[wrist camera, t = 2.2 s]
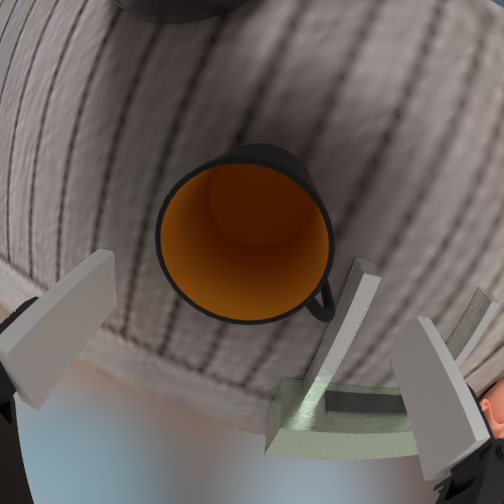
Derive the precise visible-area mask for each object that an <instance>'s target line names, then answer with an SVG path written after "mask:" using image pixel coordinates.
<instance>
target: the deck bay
mask: <svg viewBox="0 0 504 504" xmlns="http://www.w3.org/2000/svg"><path fill="white" fill-rule="evenodd" d="M381 278H382V277H381V275H380V273H379V271H378V270H377V268H376V266H375V264H374V263H373V261H372V260H369V259H364V258H360V257H355V260H354V263H353V265H352V268H351V271H350V273H349V276H348V279H347V281H346V284H345V286H344V289H343V292H342V294H341V297H340V299H339V302H338V304H337V306H336V309H335V316H334V319H333V320H332V321H330V323H329V325H328V328H327V330H326V332H325V335H324V337H323V339H322V341H321V343H320V346H319V348H318V350H317V352H316V354H315V356H314V359H313V361H312V363H311V365H310V367H309V369H308V371H307V373H306V375H305V377H304V379H303V380H299V379H292V378H286V377H283V378H282V380H281V382H280V385H279V387H278V389H277V392H276V394H275V396H274V399H273V401H272V403H271V405H270V408H269V413H268V424H267V434H266V444H265V454H267V455H275V456H284V457H295V458H309V459H341V460H342V459H344V460H345V459H377V458H390V457H400V456H410V455H417V454H418V450H417V447H416V443H415V439H414V435H413V432H412V428H411V424H410V421H409V417H408V414H407V411H406V407H405V404H404V401H403V398H402V395H401V391H400V389H399V388H377V387H362V386H350V385H339V384H330V383H329V382H330V381H331V379H332V377H333V375H334V374H335V372H336V370H337V368H338V366H339V365H340V363H341V361H342V359H343V357H344V356H345V354H346V352H347V350H348V348H349V346H350V344H351V342H352V340H353V338H354V337H355V335H356V333H357V331H358V329H359V327H360V325H361V322H362V320H363V318H364V316H365V314H366V312H367V310H368V308H369V306H370V303H371V301H372V299H373V297H374V295H375V292H376V290H377V288H378V285H379V283H380V281H381ZM499 305H500V303H499V302H498V301H497V299H496V298H495V297H494V296H493V295H492V294H491V293H490V292H489V291H488V290H487V289H486V288H482V287H478V289H477V291H476V293H475V295H474V297H473V298H472V300H471V302H470V304H469V306H468V308H467V310H466V311H465V313H464V315H463V317H462V318H461V320H460V322H459V323H458V325H457V327H456V328H455V330H454V332H453V333H452V335H451V337H450V338H449V340H448V341H447V343H446V344H445V345H446V347H447V349H448V350H449V352H450V354H451V356H452V357H453V359H454V361H455V363H456V365H457V367H458V369H459V367H460V366H461V365H462V363H463V362H464V361H465V359H466V358H467V356H468V355H469V353H470V352H471V351H472V349H473V348H474V346H475V345H476V343H477V342H478V340H479V339H480V337H481V335H482V334H483V332H484V331H485V329H486V327H487V326H488V324H489V322H490V321H491V319H492V317H493V316H494V314H495V312H496V310H497V309H498V307H499Z"/></svg>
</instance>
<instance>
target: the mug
mask: <svg viewBox="0 0 504 504" xmlns="http://www.w3.org/2000/svg"><path fill="white" fill-rule="evenodd" d="M155 243H156V252H157V256H158V259H159V263H160V266H161V268H162V270H163V272H164V274H165V276H166V278H167V280H168V281H169V283H170V284H171V286H172V287H173V289H174V290H175V291H176V292H177V293H178V294H179V295H180V296H181V297H182V298H183V299H184V300H185V301H186V302H187V303H189V304H190V305H191V306H192V307H194V308H195V309H197V310H198V311H200V312H202V313H204V314H205V315H207V316H210V317H212V318H215V319H217V320H220V321H224V322H228V323H232V324H241V325H260V324H266V323H271V322H275V321H278V320H281V319H284V318H286V317H289V316H290V315H292V314H294V313H296V312H298V311H299V310H301V309H302V308H303V307H305V306H306V308H307V309H308V310H309V312H310V313H311V314H312V315H313V316H314V317H315V318H316V319H318V320H320V321H321V322H325V323H327V322H330V321H332V320H333V319H334V316H335V305H334V301H333V297H332V292H331V288H330V285H329V282H328V280H327V278H328V276H329V273H330V270H331V267H332V264H333V258H334V251H335V247H334V233H333V229H332V224H331V220H330V218H329V216H328V213H327V211H326V209H325V207H324V205H323V202H322V200H321V198H320V196H319V194H318V192H317V190H316V188H315V186H314V184H313V182H312V180H311V178H310V177H309V175H308V173H307V171H306V169H305V168H304V167H303V165H302V164H301V163H300V162H299V161H298V160H297V159H296V158H295V157H294V156H293V155H291V154H290V153H288V152H287V151H285V150H283V149H280V148H278V147H275V146H271V145H265V144H254V145H247V146H244V147H241V148H238V149H236V150H233V151H231V152H229V153H227V154H225V155H222V156H220V157H218V158H216V159H214V160H212V161H210V162H208V163H206V164H204V165H202V166H200V167H199V168H197V169H195V170H194V171H192V172H190V173H189V174H187V175H186V176H185V177H184V178H182V179H181V180H180V181H179V182H178V183H177V184H176V185H175V186H174V187H173V189H172V190H171V191H170V193H169V194H168V195H167V197H166V198H165V200H164V203H163V205H162V207H161V209H160V211H159V215H158V219H157V223H156V232H155ZM320 290H321V295H322V300H323V306H324V308H323V307H322V306H321V305H320V304H319V303H318V301H317V300H316V298H315V296H316V295H317V294H318V293H319V291H320Z"/></svg>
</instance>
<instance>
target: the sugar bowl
mask: <svg viewBox="0 0 504 504" xmlns="http://www.w3.org/2000/svg"><path fill="white" fill-rule="evenodd" d="M479 403H480V405H481V407H482V411H483V412H484V414H485V416H486V418H487V421H488V423H489V425H490V428H491V430H492V432H493V435H494V436H495V437H498V438H503V437H504V376H503V377H501V378H500V379H499V380H498V381H497V382H496V384H495V385H494V386H493V387H492V388H491V389H490V390H489V391H488V392H487V393H486V394H485V395H484V397H483V398H482V399H481V401H480V402H479Z"/></svg>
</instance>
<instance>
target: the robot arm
mask: <svg viewBox="0 0 504 504" xmlns="http://www.w3.org/2000/svg"><path fill="white" fill-rule="evenodd" d="M247 1H249V0H113V2H114V3H116V4H117V5H118V6H119V7H120V8H122V9H124V10H125V11H127V12H129V13H130V14H132V15H134V16H136V17H138V18H140V19H143V20H146V21H150V22H155V23H166V24H173V23H185V22H192V21H197V20H202V19H206V18H209V17H213V16H216V15H219V14H222V13H224V12H227V11H229V10H231V9H234V8H236V7H238V6H240V5H242V4H243V3H245V2H247ZM491 1H493V2H494V3H496V4H498V5H500V6H502V7H504V0H491ZM116 306H117V294H116V280H115V260H114V252H113V251H109V250H105V249H101V248H99V249H98V250H96V251H95V252H94V253H93V254H91V255H90V256H89V257H87V258H86V259H85V260H84V261H82V262H81V263H80V264H79V265H77V266H76V267H75V268H74V269H72V270H71V271H70V272H69V273H68V274H66V275H65V276H64V277H63V278H62V279H60V280H59V281H58V282H57V283H56V284H54V285H53V286H52V287H51V288H50V289H49V290H48V291H46V292H45V293H44V294H43V295H42V296H41V297H40V298H38V297H34V298H32V299H30V300H28V301H25V302H24V303H23V304H22V305H21V306H19V307H18V308H17V309H16V312H13V313H12V314H11V315H10V316H9V318H6V319H5V320H4V322H2V323H1V324H0V504H34V502H33V499H32V496H31V492H30V488H29V485H28V481H27V477H26V473H25V468H24V464H23V459H22V454H21V447H20V441H19V434H18V427H17V418H16V407H15V400H14V397H13V395H14V393H15V392H16V391H17V392H18V394H19V396H20V397H21V399H22V400H23V401H24V402H25V403H26V404H28V405H29V406H31V407H33V408H34V409H36V410H37V411H38V410H39V409H40V407H41V406H42V404H43V403H44V401H45V400H46V398H47V397H48V396H49V394H50V393H51V391H52V390H53V388H54V387H55V386H56V384H57V383H58V381H59V380H60V379H61V377H62V376H63V374H64V373H65V372H66V370H67V369H68V368H69V366H70V365H71V364H72V362H73V361H74V359H75V358H76V357H77V356H78V354H79V353H80V352H81V350H82V349H83V348H84V346H85V345H86V344H87V342H88V341H89V340H90V339H91V337H92V336H93V335H94V333H95V332H96V331H97V330H98V328H99V327H100V326H101V325H102V323H103V322H104V321H105V320H106V318H107V317H108V316H109V315H110V313H111V312H112V311H113V310H114V309H115V307H116ZM390 362H391V365H392V368H393V370H394V373H395V376H396V379H397V382H398V385H399V388H400V391H401V395H402V398H403V401H404V404H405V407H406V411H407V414H408V417H409V421H410V424H411V428H412V432H413V435H414V439H415V443H416V447H417V450H418V454H419V458H420V463H421V467H422V471H423V476H424V481H428V480H432V479H437V478H440V477H441V476H443V475H444V474H446V473H447V472H448V471H450V470H451V474H452V475H451V476H450V477H448V478H447V479H445V480H444V481H442V482H441V483H439V484H438V485H436V486H435V488H434V491H435V490H437V489H438V488H440V487H441V486H443V485H444V486H443V488H442V489H440V490H439V491H438V493H440V495H439V498H438V500H437V502H436V504H504V440H503V439H501V438H500V439H495V437H494V435H493V432H492V430H491V428H490V425H489V423H488V421H487V418H486V416H485V414H484V412H483V411H482V407H481V405H480V403H478V399H477V397H476V395H475V393H474V391H473V390H472V388H471V387H470V386H469V385H468V384H467V383H466V382H465V380H464V378H463V376H462V374H461V372H460V370H459V369H458V367H457V365H456V363H455V361H454V359H453V357H452V356H451V354H450V352H449V350H448V349H447V347H446V345H445V343H444V342H443V340H442V338H441V336H440V335H439V333H438V331H437V330H436V328H435V326H434V325H433V323H432V321H431V320H430V318H428V317H422V316H416V317H415V319H414V321H413V323H412V325H411V327H410V328H409V330H408V332H407V334H406V335H405V337H404V339H403V341H402V342H401V344H400V346H399V347H398V349H397V351H396V352H395V354H394V355H393V357H392V359H391V360H390Z"/></svg>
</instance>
